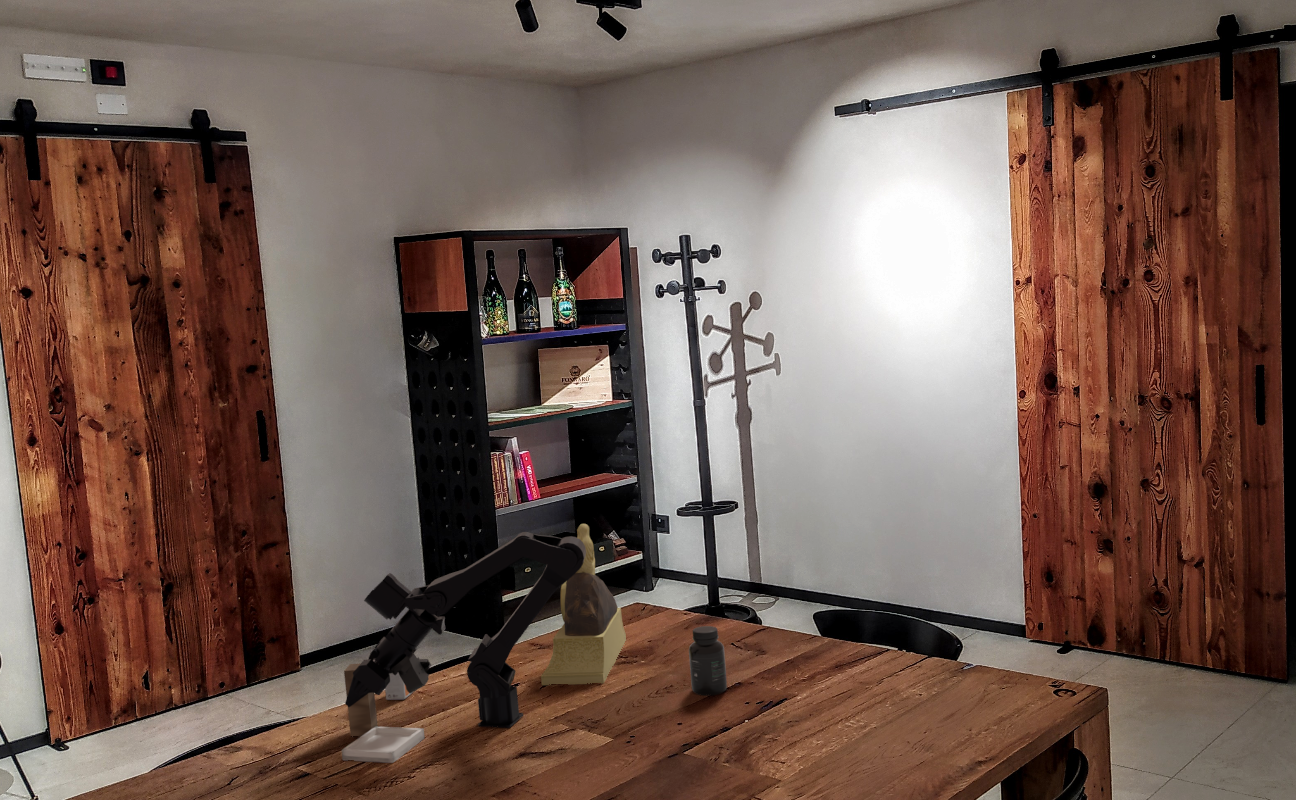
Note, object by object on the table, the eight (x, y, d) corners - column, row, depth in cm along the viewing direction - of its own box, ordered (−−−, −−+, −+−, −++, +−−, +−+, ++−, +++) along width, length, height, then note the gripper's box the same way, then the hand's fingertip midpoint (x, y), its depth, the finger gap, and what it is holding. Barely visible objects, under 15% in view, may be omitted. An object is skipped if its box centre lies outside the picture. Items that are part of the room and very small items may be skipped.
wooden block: (377, 727, 205) (371, 662, 204) (372, 735, 201) (365, 669, 200) (356, 728, 205) (350, 664, 204) (350, 737, 201) (343, 671, 200)
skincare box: (405, 700, 219) (399, 642, 218) (385, 700, 220) (379, 642, 219) (417, 689, 225) (411, 633, 224) (398, 689, 226) (392, 633, 225)
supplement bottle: (685, 689, 212) (680, 629, 211) (714, 681, 216) (709, 622, 215) (704, 698, 206) (699, 636, 205) (734, 690, 210) (729, 629, 209)
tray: (424, 738, 198) (423, 728, 197) (392, 762, 187) (391, 752, 187) (376, 735, 201) (375, 726, 201) (342, 760, 190) (341, 750, 190)
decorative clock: (571, 643, 250) (559, 514, 247) (626, 641, 248) (615, 511, 246) (542, 685, 222) (529, 540, 220) (603, 684, 220) (591, 537, 218)
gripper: (429, 679, 193) (373, 744, 194) (449, 648, 211) (398, 707, 212) (381, 639, 192) (325, 705, 193) (405, 611, 211) (354, 671, 212)
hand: (353, 697), depth 203 cm, fingers open, 8 cm apart
